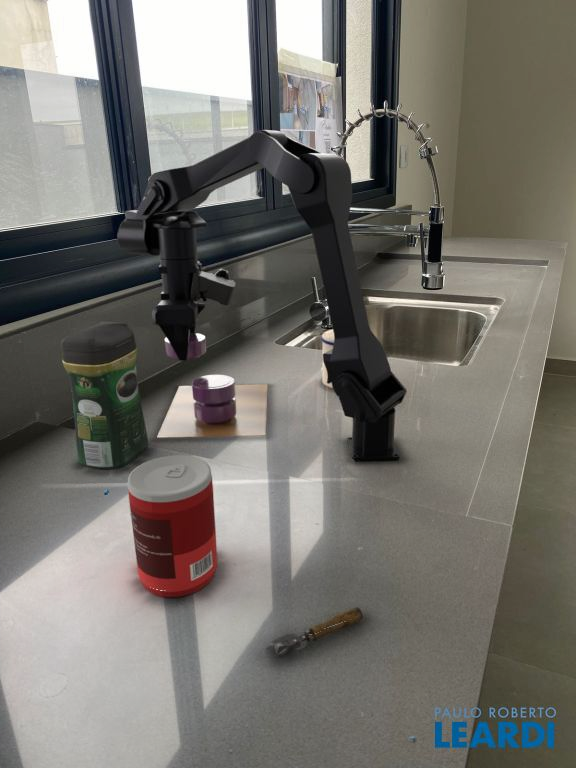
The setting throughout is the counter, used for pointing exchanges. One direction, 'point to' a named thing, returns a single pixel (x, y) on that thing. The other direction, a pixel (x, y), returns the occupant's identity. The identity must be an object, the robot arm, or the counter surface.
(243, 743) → the counter surface
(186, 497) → the canned food
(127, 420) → the coffee jar
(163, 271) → the robot arm
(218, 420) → the plum dish bottom
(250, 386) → the placemat
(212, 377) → the purple puck
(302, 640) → the can opener
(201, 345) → the purple hockey puck
